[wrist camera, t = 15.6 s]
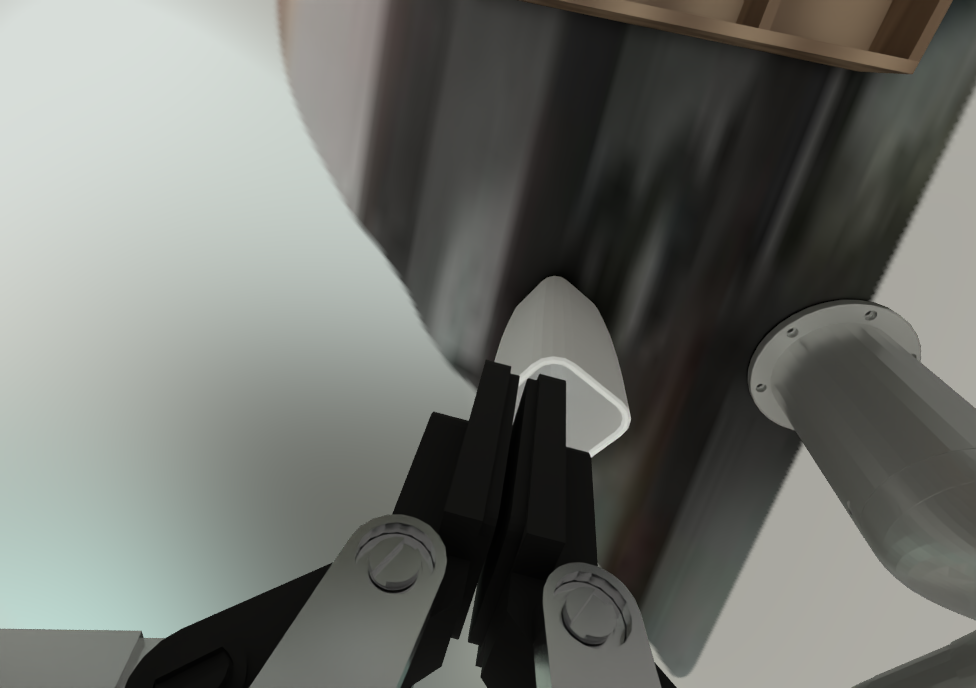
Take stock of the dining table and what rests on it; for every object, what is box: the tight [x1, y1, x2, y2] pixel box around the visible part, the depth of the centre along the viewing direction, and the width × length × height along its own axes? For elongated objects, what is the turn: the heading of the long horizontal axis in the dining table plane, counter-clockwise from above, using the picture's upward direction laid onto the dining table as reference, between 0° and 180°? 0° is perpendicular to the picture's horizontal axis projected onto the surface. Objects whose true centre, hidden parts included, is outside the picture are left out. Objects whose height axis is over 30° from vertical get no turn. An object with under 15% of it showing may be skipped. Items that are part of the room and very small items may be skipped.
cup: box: [494, 276, 631, 457], centre depth 36 cm, size 7×7×15 cm
